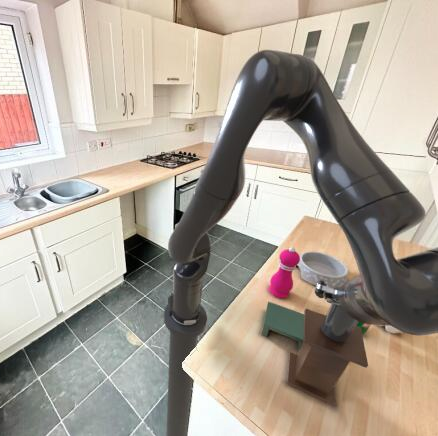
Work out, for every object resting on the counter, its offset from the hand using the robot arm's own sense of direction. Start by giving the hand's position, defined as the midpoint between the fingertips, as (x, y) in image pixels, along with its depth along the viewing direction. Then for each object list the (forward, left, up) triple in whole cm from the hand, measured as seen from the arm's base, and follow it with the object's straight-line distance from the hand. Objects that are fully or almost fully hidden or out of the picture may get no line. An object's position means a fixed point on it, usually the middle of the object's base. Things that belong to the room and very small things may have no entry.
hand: (346, 303), depth 52 cm
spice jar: (0, -2, -7) cm, 7 cm away
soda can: (+12, +22, -26) cm, 36 cm away
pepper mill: (-10, +27, -26) cm, 39 cm away
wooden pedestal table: (0, -2, -26) cm, 26 cm away
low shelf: (-7, +10, -26) cm, 29 cm away
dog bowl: (+3, +46, -26) cm, 53 cm away
